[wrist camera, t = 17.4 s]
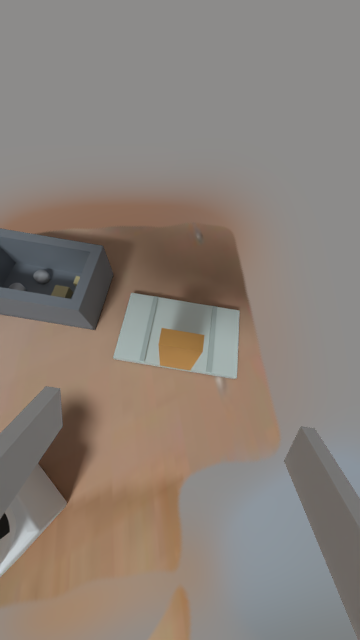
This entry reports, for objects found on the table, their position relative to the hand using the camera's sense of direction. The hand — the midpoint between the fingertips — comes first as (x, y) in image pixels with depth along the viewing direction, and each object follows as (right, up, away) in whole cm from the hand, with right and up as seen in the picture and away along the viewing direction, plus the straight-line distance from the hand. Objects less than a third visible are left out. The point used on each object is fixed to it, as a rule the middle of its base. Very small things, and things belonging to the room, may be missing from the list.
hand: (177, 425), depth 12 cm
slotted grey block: (0, +3, +26) cm, 27 cm away
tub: (-24, +11, +28) cm, 39 cm away
